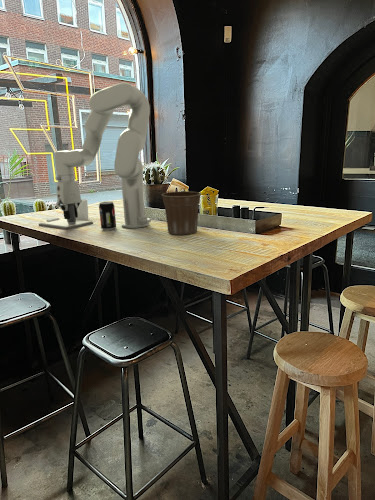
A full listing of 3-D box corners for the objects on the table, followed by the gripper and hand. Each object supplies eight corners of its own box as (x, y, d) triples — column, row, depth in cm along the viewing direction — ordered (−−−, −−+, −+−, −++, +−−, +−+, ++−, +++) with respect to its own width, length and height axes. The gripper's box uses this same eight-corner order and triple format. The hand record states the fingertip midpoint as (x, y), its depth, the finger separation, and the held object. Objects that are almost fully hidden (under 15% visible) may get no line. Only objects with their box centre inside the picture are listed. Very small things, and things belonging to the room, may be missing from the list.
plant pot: (206, 228, 160) (205, 190, 156) (197, 237, 145) (195, 196, 141) (170, 227, 165) (168, 191, 160) (158, 236, 150) (155, 196, 145)
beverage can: (113, 230, 163) (110, 203, 159) (98, 230, 164) (96, 203, 161) (118, 227, 169) (116, 201, 166) (105, 227, 170) (102, 201, 167)
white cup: (85, 220, 189) (83, 201, 186) (71, 220, 190) (68, 201, 187) (91, 217, 196) (89, 198, 193) (77, 217, 197) (75, 199, 195)
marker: (78, 222, 175) (75, 197, 172) (71, 224, 172) (67, 198, 169) (72, 222, 177) (69, 196, 174) (65, 224, 174) (61, 198, 171)
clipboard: (92, 223, 180) (92, 219, 180) (67, 229, 169) (66, 225, 168) (64, 220, 193) (64, 216, 192) (38, 225, 181) (38, 221, 180)
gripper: (55, 180, 160) (61, 222, 165) (86, 177, 173) (90, 215, 178) (45, 180, 165) (51, 220, 169) (75, 176, 178) (80, 214, 183)
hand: (71, 217), depth 174 cm, fingers closed on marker, 4 cm apart
